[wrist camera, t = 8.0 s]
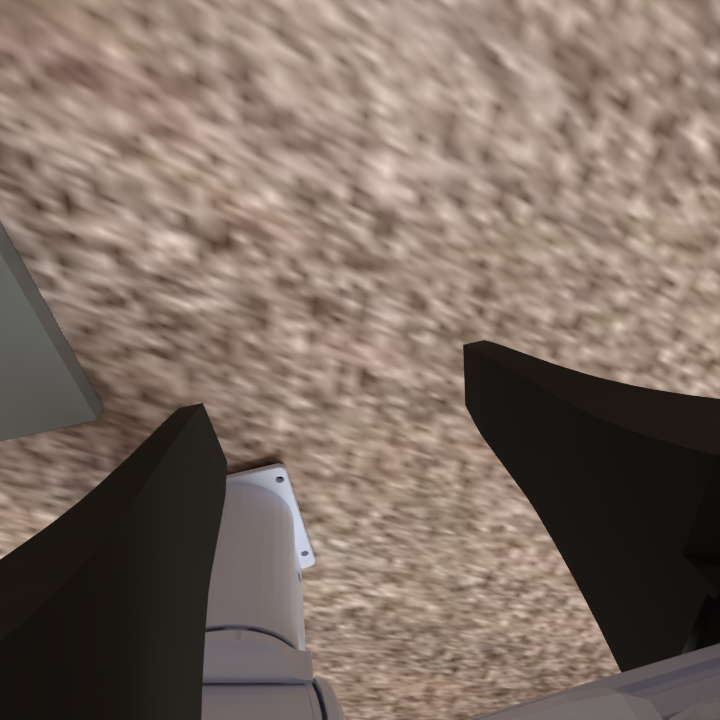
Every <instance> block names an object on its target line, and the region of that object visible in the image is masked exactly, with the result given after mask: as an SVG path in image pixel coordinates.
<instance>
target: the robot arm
mask: <svg viewBox="0 0 720 720" xmlns="http://www.w3.org/2000/svg"><path fill="white" fill-rule="evenodd" d="M463 350H464V379H465V405H466V407H467V409H468V411H469V413H470V415H471V417H472V419H473V421H474V423H475V425H476V426H477V428H478V430H479V432H480V434H481V435H482V436H483V438H484V439H485V441H486V442H487V443H488V445H489V446H490V448H491V449H492V450H493V452H494V453H495V455H496V456H497V457H498V459H499V460H500V461H501V463H502V464H503V465H504V467H505V468H506V469H507V471H508V472H509V474H510V475H511V476H512V478H513V479H514V480H515V482H516V483H517V484H518V486H519V487H520V488H521V490H522V491H523V493H524V494H525V495H526V497H527V498H528V500H529V501H530V503H531V504H532V506H533V507H534V509H535V510H536V512H537V514H538V516H539V517H540V519H541V521H542V522H543V524H544V526H545V528H546V529H547V531H548V533H549V534H550V536H551V538H552V540H553V541H554V543H555V545H556V547H557V548H558V550H559V552H560V554H561V556H562V557H563V559H564V561H565V563H566V565H567V567H568V568H569V570H570V572H571V574H572V576H573V577H574V579H575V581H576V583H577V585H578V587H579V589H580V591H581V593H582V595H583V596H584V598H585V600H586V602H587V604H588V606H589V608H590V610H591V612H592V614H593V616H594V618H595V620H596V621H597V623H598V625H599V627H600V629H601V631H602V634H603V636H604V638H605V640H606V642H607V644H608V646H609V648H610V650H611V652H612V654H613V656H614V658H615V660H616V662H617V664H618V666H619V668H620V670H621V672H622V673H619V674H616V675H612V676H609V677H606V678H602V679H599V680H596V681H592V682H589V683H586V684H582V685H579V686H576V687H572V688H569V689H566V690H562V691H559V692H556V693H552V694H549V695H546V696H542V697H539V698H536V699H532V700H529V701H526V702H522V703H519V704H516V705H512V706H509V707H506V708H502V709H499V710H496V711H492V712H489V713H486V714H482V715H479V716H476V717H472V718H469V719H466V720H720V399H716V398H708V397H700V396H692V395H685V394H678V393H672V392H666V391H660V390H653V389H648V388H643V387H638V386H633V385H629V384H624V383H620V382H615V381H611V380H607V379H603V378H599V377H595V376H591V375H588V374H584V373H581V372H578V371H574V370H571V369H568V368H565V367H562V366H559V365H555V364H552V363H550V362H547V361H544V360H541V359H538V358H535V357H533V356H530V355H527V354H524V353H522V352H519V351H516V350H513V349H511V348H508V347H505V346H502V345H499V344H496V343H493V342H489V341H485V340H483V341H479V342H474V343H470V344H465V345H463ZM280 476H281V477H283V478H277V477H280ZM314 563H315V556H314V553H313V550H312V547H311V544H310V541H309V538H308V535H307V531H306V528H305V525H304V522H303V519H302V516H301V513H300V510H299V507H298V504H297V501H296V497H295V494H294V491H293V488H292V485H291V482H290V479H289V476H288V473H287V470H286V467H285V466H284V465H283V464H280V463H277V464H272V465H268V466H264V467H259V468H255V469H251V470H247V471H243V472H238V473H234V474H230V475H227V461H226V458H225V456H224V453H223V451H222V448H221V446H220V444H219V441H218V439H217V436H216V434H215V432H214V429H213V427H212V424H211V422H210V419H209V417H208V415H207V412H206V410H205V407H204V405H203V403H200V404H196V405H191V406H187V407H182V408H179V409H178V410H177V411H175V412H174V413H173V414H172V415H171V416H170V417H169V418H168V419H167V420H166V421H165V422H164V423H163V424H162V425H161V426H160V427H159V428H158V429H157V430H156V431H155V432H154V433H153V434H152V435H151V436H150V437H149V438H148V439H147V440H146V441H145V442H144V443H142V444H141V445H140V446H139V447H138V448H137V449H136V450H135V451H134V452H133V453H132V454H131V455H130V456H129V457H128V458H127V459H126V460H125V461H124V462H123V463H122V464H121V465H120V466H119V467H118V468H116V469H115V470H114V471H113V472H112V473H111V474H110V475H109V476H108V477H107V478H106V479H104V480H103V481H102V482H101V483H100V484H99V485H98V486H97V487H96V488H95V489H93V490H92V491H91V492H90V493H89V494H88V495H87V496H85V497H84V498H83V499H82V500H80V501H79V502H78V503H77V504H76V505H74V506H73V507H72V508H71V509H69V510H68V511H67V512H66V513H64V514H63V515H62V516H60V517H59V518H58V519H57V520H55V521H54V522H53V523H51V524H50V525H49V526H47V527H46V528H45V529H43V530H42V531H41V532H39V533H38V534H36V535H35V536H33V537H32V538H31V539H29V540H28V541H26V542H25V543H23V544H22V545H21V546H19V547H18V548H16V549H15V550H13V551H12V552H11V553H9V554H8V555H6V556H5V557H3V558H2V559H1V560H0V720H346V719H345V715H344V712H343V709H342V706H341V704H340V702H339V700H338V698H337V697H336V695H335V693H334V691H333V689H332V687H331V685H330V684H329V683H328V681H327V680H325V679H323V678H313V670H312V654H311V652H310V651H305V630H304V610H303V591H302V571H301V569H302V568H306V567H310V566H312V565H313V564H314Z"/></svg>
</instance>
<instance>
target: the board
mask: <svg viewBox="0 0 720 720" xmlns="http://www.w3.org/2000/svg"><path fill="white" fill-rule="evenodd" d="M104 409H105V408H104V407H103V405H102V403H101V401H100V400H99V398H98V396H97V394H96V392H95V391H94V389H93V387H92V385H91V383H90V382H89V380H88V378H87V376H86V374H85V373H84V371H83V369H82V367H81V366H80V364H79V362H78V360H77V358H76V357H75V355H74V353H73V351H72V349H71V348H70V346H69V344H68V342H67V340H66V339H65V337H64V335H63V333H62V332H61V330H60V328H59V326H58V324H57V323H56V321H55V319H54V317H53V315H52V314H51V312H50V310H49V308H48V306H47V305H46V303H45V301H44V299H43V298H42V296H41V294H40V292H39V290H38V289H37V287H36V285H35V283H34V281H33V280H32V278H31V276H30V274H29V272H28V271H27V269H26V267H25V265H24V264H23V262H22V260H21V258H20V256H19V255H18V253H17V251H16V249H15V247H14V246H13V244H12V242H11V240H10V238H9V237H8V235H7V233H6V231H5V230H4V228H3V226H2V224H1V222H0V441H4V440H9V439H13V438H18V437H22V436H27V435H31V434H36V433H40V432H45V431H49V430H54V429H58V428H63V427H67V426H72V425H76V424H81V423H85V422H90V421H94V420H97V419H98V418H99V416H100V415H101V413H102V412H103V410H104Z"/></svg>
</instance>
